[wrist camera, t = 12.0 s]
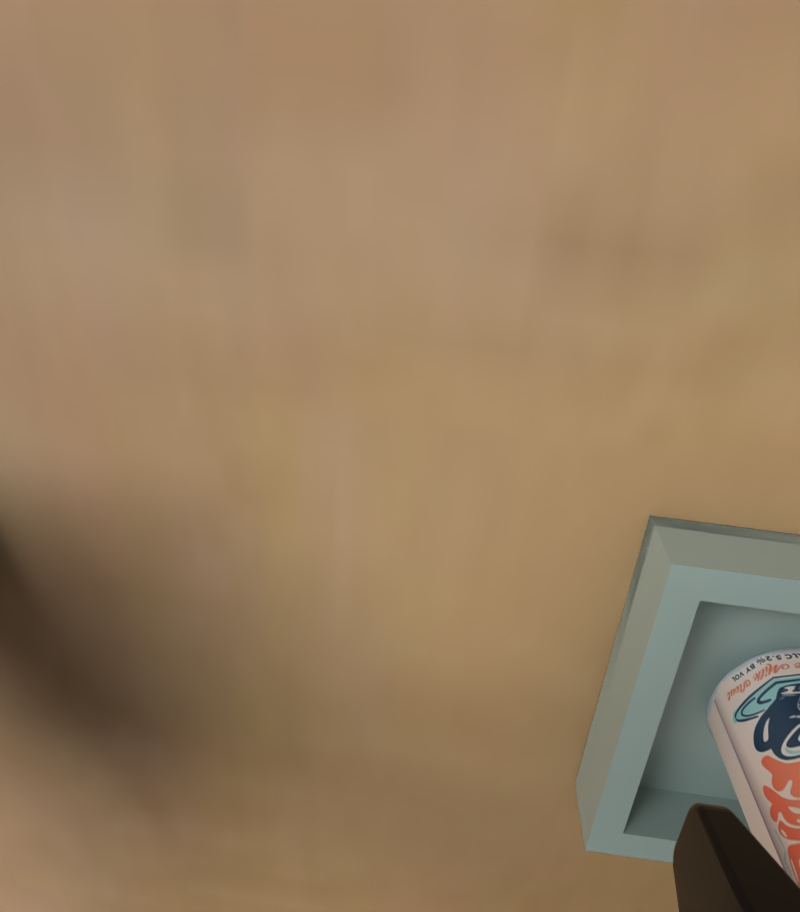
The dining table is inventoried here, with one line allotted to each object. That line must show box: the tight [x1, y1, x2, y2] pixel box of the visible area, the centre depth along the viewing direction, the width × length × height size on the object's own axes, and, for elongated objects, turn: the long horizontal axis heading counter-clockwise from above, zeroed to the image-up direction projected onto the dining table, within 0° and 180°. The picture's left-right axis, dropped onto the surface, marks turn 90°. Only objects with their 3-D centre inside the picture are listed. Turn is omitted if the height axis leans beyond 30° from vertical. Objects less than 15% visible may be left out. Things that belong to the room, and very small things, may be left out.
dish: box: [575, 516, 800, 863], centre depth 23 cm, size 11×11×3 cm
